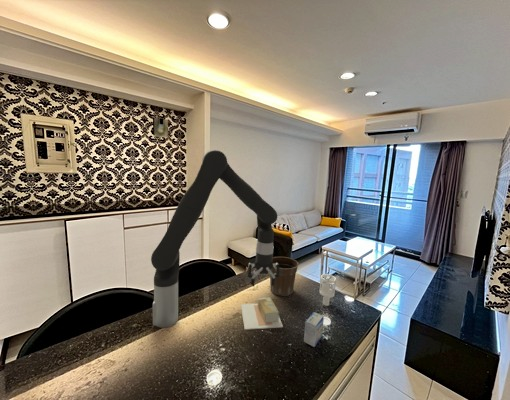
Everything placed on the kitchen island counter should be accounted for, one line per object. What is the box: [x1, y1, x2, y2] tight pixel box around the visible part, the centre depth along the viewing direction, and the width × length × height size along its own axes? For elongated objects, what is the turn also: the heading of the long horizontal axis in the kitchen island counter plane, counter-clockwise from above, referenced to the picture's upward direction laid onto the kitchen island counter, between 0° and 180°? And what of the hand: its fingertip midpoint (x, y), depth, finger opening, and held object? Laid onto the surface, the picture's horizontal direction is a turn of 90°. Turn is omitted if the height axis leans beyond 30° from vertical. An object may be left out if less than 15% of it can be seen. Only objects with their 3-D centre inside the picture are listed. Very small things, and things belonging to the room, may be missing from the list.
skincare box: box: [256, 296, 280, 323], centre depth 101 cm, size 6×4×12 cm
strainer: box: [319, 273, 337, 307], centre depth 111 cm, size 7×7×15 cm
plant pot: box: [269, 256, 299, 297], centre depth 122 cm, size 16×16×16 cm
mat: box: [240, 302, 284, 331], centre depth 101 cm, size 16×17×1 cm
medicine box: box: [303, 311, 325, 348], centre depth 88 cm, size 8×4×9 cm, turn 143°
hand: (262, 285), depth 103 cm, fingers open, 8 cm apart
